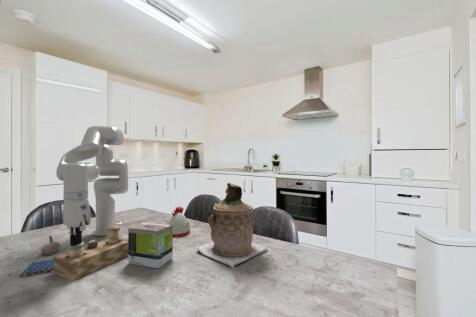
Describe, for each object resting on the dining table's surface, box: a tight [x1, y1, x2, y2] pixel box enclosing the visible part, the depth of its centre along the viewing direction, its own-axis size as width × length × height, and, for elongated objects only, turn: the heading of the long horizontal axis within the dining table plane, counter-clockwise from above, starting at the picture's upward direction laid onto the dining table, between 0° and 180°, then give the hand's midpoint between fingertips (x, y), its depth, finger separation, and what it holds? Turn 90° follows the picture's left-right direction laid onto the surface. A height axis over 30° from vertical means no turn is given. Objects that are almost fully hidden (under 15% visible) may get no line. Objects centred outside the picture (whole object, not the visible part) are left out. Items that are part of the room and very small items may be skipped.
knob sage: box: [67, 241, 85, 260], centre depth 84 cm, size 5×5×8 cm
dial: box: [86, 239, 99, 249], centre depth 91 cm, size 4×4×3 cm
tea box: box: [127, 221, 174, 269], centre depth 92 cm, size 15×10×15 cm
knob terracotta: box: [107, 226, 121, 245], centre depth 97 cm, size 5×5×8 cm
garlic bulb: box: [40, 235, 61, 256], centre depth 100 cm, size 8×7×8 cm
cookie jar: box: [195, 182, 268, 269], centre depth 101 cm, size 25×25×32 cm
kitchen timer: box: [166, 206, 191, 238], centre depth 127 cm, size 14×14×15 cm
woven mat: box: [19, 258, 54, 278], centre depth 86 cm, size 10×11×2 cm
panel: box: [53, 237, 128, 281], centre depth 90 cm, size 24×12×6 cm, turn 154°
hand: (75, 244), depth 83 cm, fingers closed
